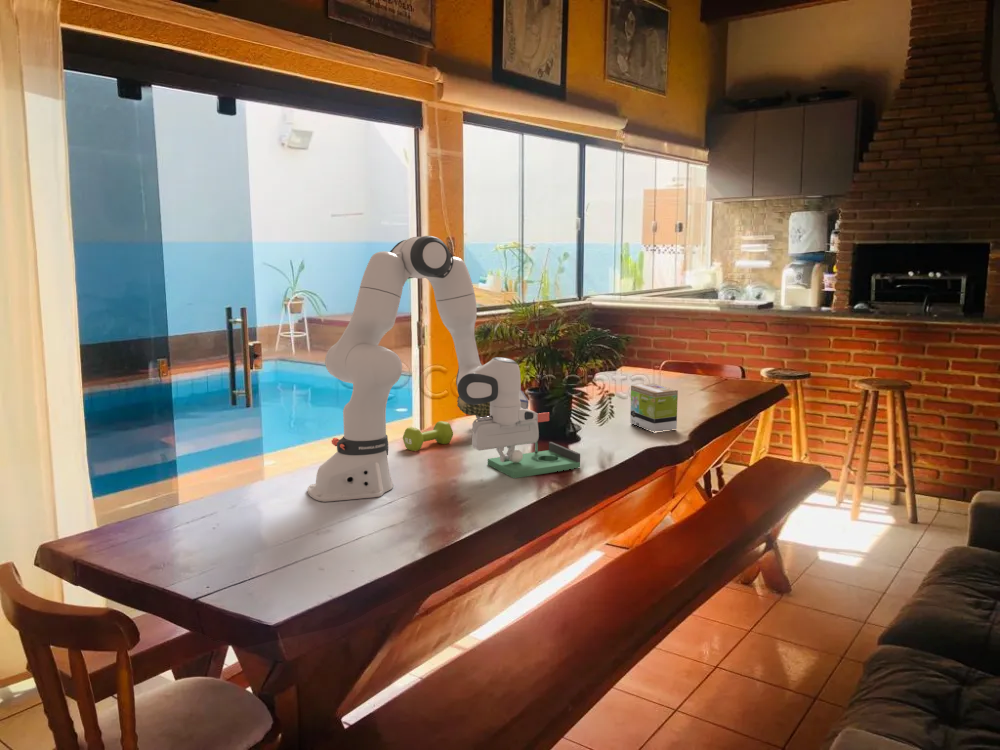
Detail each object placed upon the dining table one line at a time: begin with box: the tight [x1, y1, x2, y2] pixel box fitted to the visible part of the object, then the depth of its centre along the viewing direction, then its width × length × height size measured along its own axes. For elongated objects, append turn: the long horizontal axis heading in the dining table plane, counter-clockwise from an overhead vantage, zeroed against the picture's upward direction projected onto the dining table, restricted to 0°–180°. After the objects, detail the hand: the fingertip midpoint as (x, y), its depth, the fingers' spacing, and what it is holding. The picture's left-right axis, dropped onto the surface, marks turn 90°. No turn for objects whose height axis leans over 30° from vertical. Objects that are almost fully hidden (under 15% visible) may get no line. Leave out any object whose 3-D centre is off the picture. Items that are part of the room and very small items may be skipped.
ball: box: [511, 448, 524, 463], centre depth 234 cm, size 4×4×4 cm
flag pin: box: [534, 412, 550, 453], centre depth 245 cm, size 5×1×14 cm, turn 118°
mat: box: [487, 441, 581, 479], centre depth 236 cm, size 22×16×4 cm
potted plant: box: [456, 389, 530, 419], centre depth 282 cm, size 18×18×30 cm
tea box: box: [629, 383, 679, 432], centre depth 284 cm, size 15×10×15 cm, turn 25°
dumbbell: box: [402, 420, 454, 452], centre depth 260 cm, size 16×8×7 cm, turn 134°
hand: (505, 461), depth 232 cm, fingers closed
